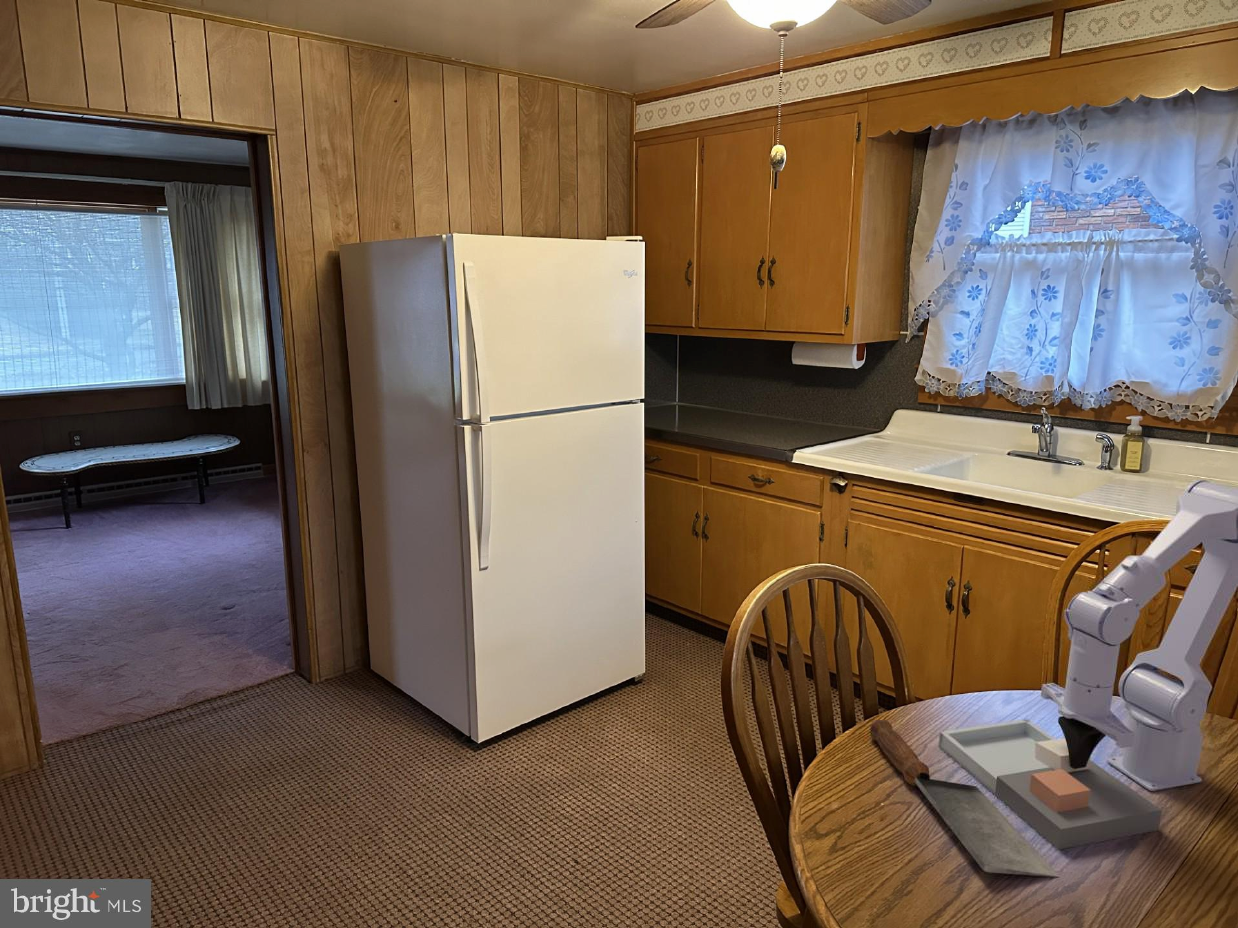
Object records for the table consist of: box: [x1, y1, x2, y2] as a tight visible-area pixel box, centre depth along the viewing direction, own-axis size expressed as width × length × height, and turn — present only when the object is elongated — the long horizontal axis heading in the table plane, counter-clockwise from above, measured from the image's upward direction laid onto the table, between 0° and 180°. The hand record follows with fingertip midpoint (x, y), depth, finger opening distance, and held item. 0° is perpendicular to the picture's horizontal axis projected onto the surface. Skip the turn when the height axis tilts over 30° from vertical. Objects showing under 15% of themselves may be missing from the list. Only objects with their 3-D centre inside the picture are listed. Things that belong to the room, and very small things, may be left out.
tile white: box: [1035, 737, 1092, 772], centre depth 122 cm, size 5×5×2 cm
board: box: [994, 760, 1163, 850], centre depth 115 cm, size 16×12×3 cm
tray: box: [938, 718, 1056, 796], centre depth 127 cm, size 16×13×2 cm
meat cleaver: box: [869, 719, 1061, 878], centre depth 118 cm, size 34×11×4 cm, turn 8°
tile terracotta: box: [1029, 769, 1090, 812], centre depth 113 cm, size 5×5×2 cm
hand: (1077, 766), depth 119 cm, fingers closed, pressing on tile white
